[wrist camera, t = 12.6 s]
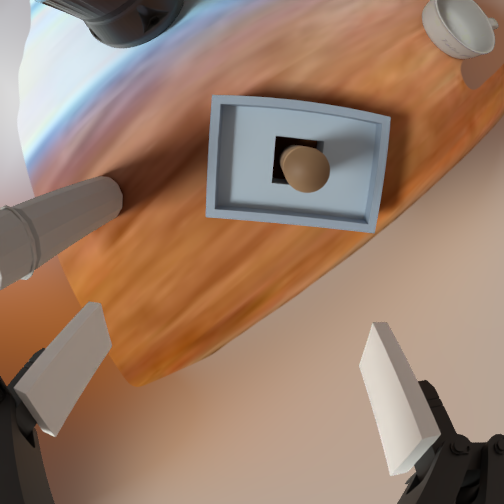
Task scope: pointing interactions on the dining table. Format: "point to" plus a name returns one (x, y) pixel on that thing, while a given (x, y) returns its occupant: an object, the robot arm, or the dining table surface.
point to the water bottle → (53, 224)
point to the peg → (304, 168)
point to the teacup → (459, 28)
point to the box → (278, 190)
